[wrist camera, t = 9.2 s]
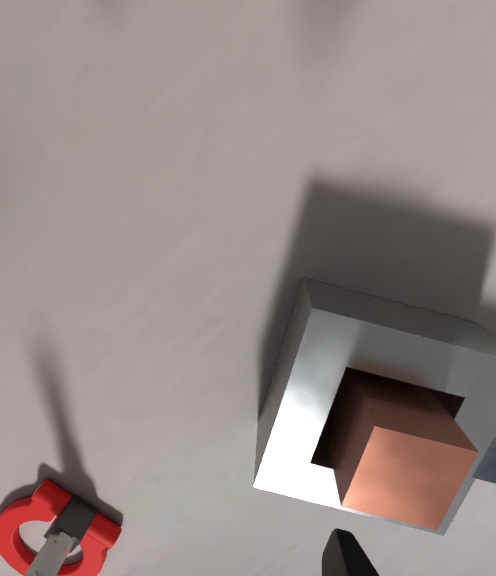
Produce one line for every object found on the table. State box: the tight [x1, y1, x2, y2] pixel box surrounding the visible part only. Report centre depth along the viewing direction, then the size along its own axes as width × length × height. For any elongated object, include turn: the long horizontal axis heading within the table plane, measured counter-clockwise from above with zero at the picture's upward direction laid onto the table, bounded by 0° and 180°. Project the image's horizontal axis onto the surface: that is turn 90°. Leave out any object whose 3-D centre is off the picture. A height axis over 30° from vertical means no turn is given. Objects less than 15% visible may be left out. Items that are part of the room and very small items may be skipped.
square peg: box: [324, 367, 479, 531], centre depth 18 cm, size 4×4×8 cm
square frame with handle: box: [254, 278, 496, 536], centre depth 19 cm, size 20×10×5 cm, turn 76°
